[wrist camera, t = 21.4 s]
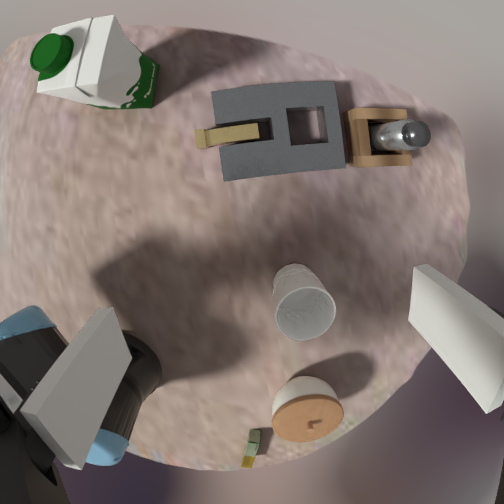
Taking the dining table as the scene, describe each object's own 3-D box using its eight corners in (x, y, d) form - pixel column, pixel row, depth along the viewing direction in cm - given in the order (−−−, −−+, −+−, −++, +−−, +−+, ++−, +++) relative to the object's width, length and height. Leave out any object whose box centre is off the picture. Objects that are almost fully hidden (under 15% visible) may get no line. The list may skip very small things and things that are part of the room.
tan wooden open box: (349, 166, 40) (362, 167, 36) (343, 112, 38) (355, 107, 33) (396, 163, 40) (412, 165, 35) (390, 113, 38) (406, 109, 33)
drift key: (201, 149, 39) (197, 148, 36) (198, 132, 38) (194, 130, 35) (258, 140, 39) (259, 139, 35) (256, 124, 38) (257, 120, 35)
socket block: (225, 179, 41) (223, 181, 37) (214, 97, 37) (211, 91, 33) (336, 167, 40) (345, 168, 37) (326, 87, 37) (333, 81, 33)
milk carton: (112, 62, 34) (39, 18, 15) (167, 59, 35) (114, -2, 16) (103, 115, 37) (19, 97, 18) (158, 114, 37) (92, 84, 18)
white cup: (281, 251, 44) (291, 277, 35) (327, 270, 45) (346, 298, 36) (260, 296, 46) (264, 330, 37) (304, 311, 47) (317, 347, 38)
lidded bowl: (255, 391, 53) (257, 434, 42) (305, 353, 50) (317, 396, 39) (297, 416, 55) (304, 456, 45) (344, 384, 53) (359, 423, 42)
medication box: (249, 428, 57) (247, 441, 53) (261, 429, 56) (260, 442, 53) (242, 455, 60) (240, 467, 56) (253, 457, 60) (252, 469, 56)
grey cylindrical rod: (360, 150, 40) (409, 150, 26) (358, 127, 38) (405, 116, 25) (382, 149, 40) (434, 150, 26) (379, 126, 38) (431, 118, 25)
